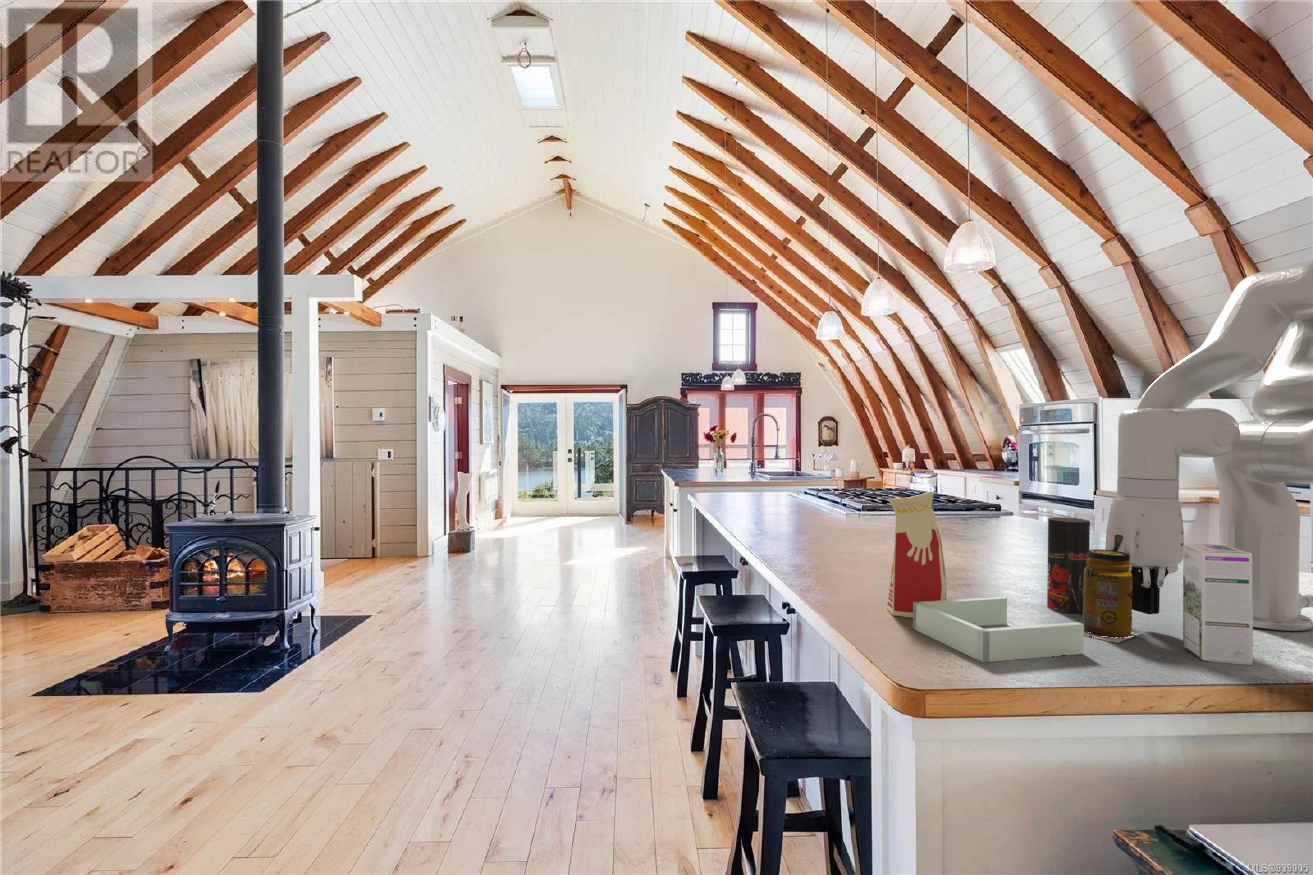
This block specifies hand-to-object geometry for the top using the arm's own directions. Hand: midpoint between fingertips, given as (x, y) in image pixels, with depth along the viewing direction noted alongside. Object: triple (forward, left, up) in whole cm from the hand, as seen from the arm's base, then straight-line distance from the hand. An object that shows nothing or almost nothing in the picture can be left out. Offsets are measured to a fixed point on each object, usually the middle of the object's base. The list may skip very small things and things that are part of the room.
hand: (1144, 611), depth 101 cm
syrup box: (+2, +12, -3) cm, 13 cm away
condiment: (+8, 0, -3) cm, 8 cm away
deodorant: (+2, -12, -3) cm, 13 cm away
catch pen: (+26, 0, -3) cm, 27 cm away
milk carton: (+28, -16, -3) cm, 32 cm away
